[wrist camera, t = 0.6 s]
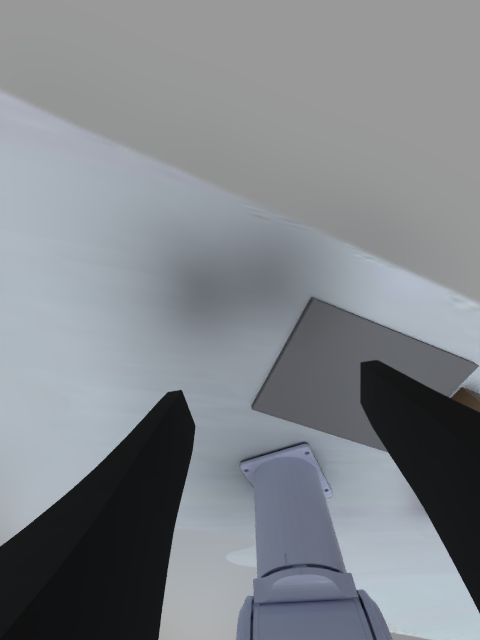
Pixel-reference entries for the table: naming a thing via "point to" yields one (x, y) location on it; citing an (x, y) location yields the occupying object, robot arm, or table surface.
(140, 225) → the table surface
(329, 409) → the mat
